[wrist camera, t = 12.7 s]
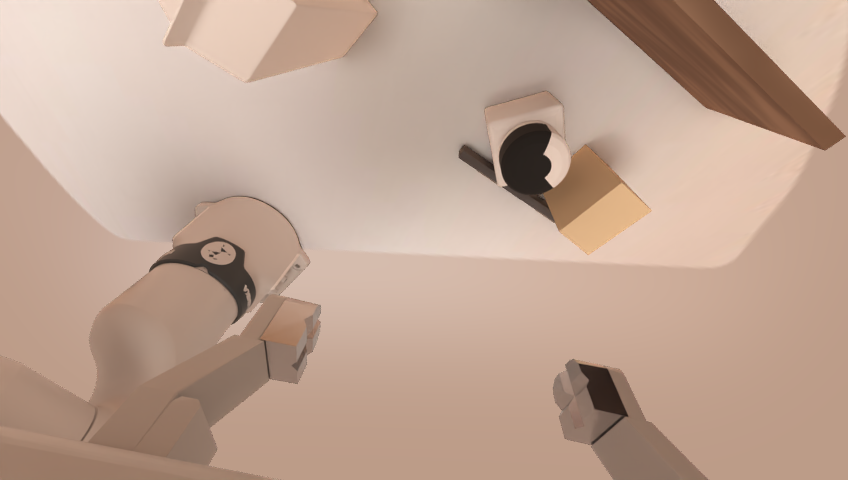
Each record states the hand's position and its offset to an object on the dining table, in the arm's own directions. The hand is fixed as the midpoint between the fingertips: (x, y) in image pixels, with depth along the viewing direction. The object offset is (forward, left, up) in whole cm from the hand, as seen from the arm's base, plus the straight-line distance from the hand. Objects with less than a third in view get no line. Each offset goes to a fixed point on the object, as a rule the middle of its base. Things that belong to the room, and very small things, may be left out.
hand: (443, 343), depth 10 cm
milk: (+1, +16, -33) cm, 37 cm away
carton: (+1, -16, -33) cm, 37 cm away
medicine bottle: (+2, -7, -33) cm, 34 cm away
